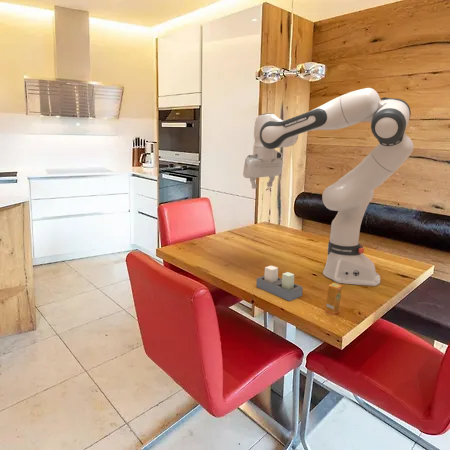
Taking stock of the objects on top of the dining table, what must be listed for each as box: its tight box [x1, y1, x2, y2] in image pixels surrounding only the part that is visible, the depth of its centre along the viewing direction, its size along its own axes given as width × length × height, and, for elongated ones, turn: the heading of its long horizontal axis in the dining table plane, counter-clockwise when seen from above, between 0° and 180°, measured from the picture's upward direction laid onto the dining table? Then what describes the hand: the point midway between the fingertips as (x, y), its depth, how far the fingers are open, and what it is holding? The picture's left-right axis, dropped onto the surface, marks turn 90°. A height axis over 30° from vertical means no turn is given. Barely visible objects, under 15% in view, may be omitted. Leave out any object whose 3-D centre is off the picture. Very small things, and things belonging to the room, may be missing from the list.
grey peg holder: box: [255, 274, 304, 302], centre depth 139 cm, size 16×7×4 cm, turn 41°
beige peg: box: [281, 271, 295, 290], centre depth 135 cm, size 3×3×8 cm
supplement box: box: [324, 282, 343, 316], centre depth 123 cm, size 3×3×10 cm
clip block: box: [263, 265, 279, 283], centre depth 141 cm, size 4×4×8 cm
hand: (262, 187), depth 160 cm, fingers open, 8 cm apart
